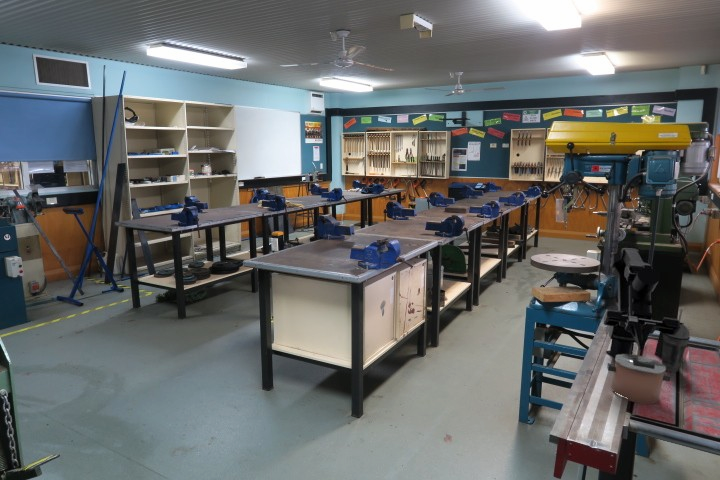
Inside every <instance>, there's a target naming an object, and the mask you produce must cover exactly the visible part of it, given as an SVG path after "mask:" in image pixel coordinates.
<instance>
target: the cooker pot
mask: <svg viewBox="0 0 720 480" xmlns="http://www.w3.org/2000/svg"><path fill="white" fill-rule="evenodd" d="M606 367H607V368H606V369H607V371H608V372H613V375H612V381H611V387H612V388H611V390H612V389H613V390H614V391H615V392H616V393H618V394H620V395H622V396H624V397H627V398H628V400H627V401H628V402H633V403H634V404H635V403H636V404H641V405H654V404H657V403H658V402H659V401H660V396H661V390H662V386H663V381H665V382H670V383H671V379H672V376H671V375H670V373H667V372H664V373H658V374H656V373H646V372H641V371H636V370H633V369H629V368H627V367H624V366H622V365H620V364H618V363H617V362H616V361H615V363H607V366H606ZM613 390H612V391H613ZM616 393H615V394H616Z"/></svg>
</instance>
